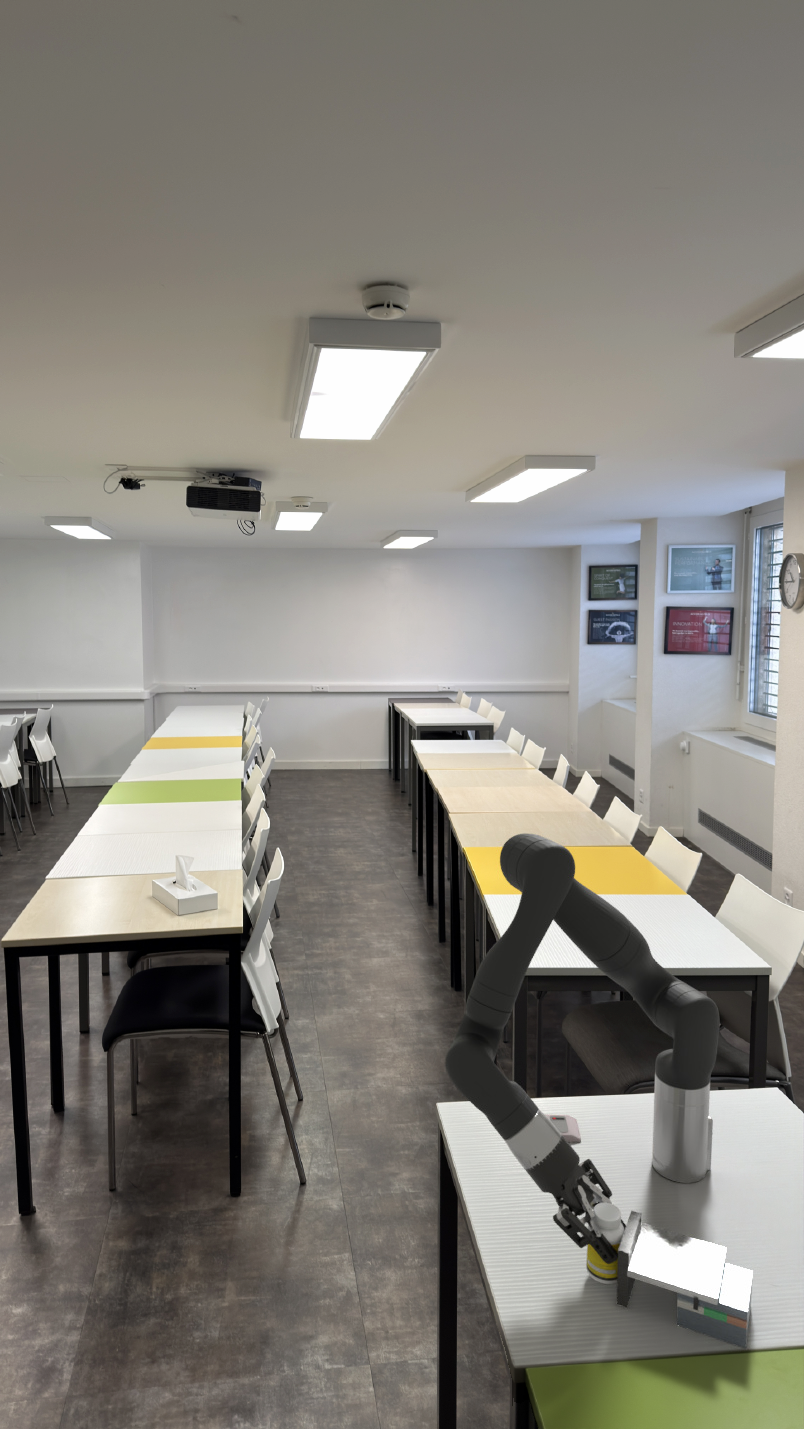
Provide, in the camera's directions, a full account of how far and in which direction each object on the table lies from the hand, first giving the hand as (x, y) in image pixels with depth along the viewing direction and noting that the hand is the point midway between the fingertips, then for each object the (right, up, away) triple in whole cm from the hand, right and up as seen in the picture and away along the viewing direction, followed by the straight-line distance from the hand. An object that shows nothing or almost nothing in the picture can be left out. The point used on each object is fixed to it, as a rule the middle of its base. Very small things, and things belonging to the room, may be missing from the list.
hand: (618, 1246), depth 130 cm
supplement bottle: (-2, -5, +1) cm, 5 cm away
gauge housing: (+12, -7, -5) cm, 15 cm away
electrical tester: (-4, -2, +38) cm, 39 cm away
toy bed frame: (+7, -6, -3) cm, 9 cm away
